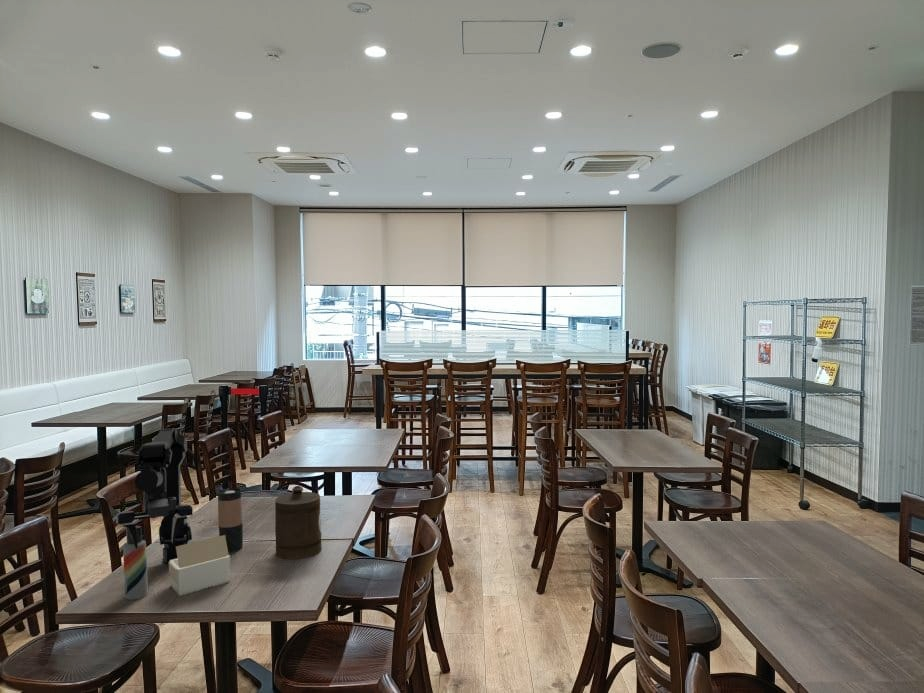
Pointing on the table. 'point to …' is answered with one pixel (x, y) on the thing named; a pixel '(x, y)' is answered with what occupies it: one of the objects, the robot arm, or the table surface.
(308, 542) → the wooden container
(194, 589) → the storage box
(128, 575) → the lotion bottle
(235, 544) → the travel mug
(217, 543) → the top flap
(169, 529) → the robot arm
